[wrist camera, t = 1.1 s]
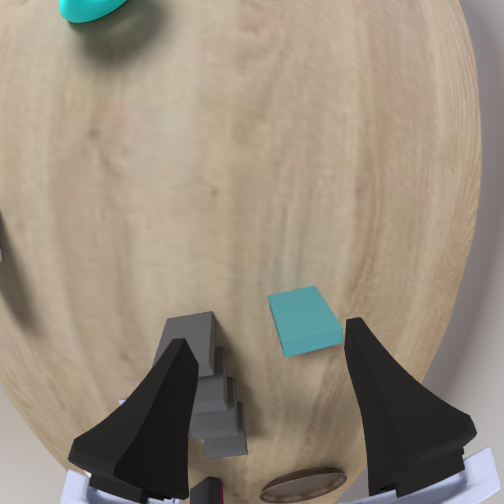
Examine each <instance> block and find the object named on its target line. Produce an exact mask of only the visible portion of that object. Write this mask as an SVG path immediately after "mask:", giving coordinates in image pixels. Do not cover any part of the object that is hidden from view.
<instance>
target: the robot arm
mask: <svg viewBox="0 0 504 504" xmlns="http://www.w3.org/2000/svg"><path fill="white" fill-rule="evenodd" d="M344 350H345V356H346V361H347V366H348V370H349V374H350V377H351V380H352V384H353V387H354V390H355V394H356V397H357V400H358V404H359V407H360V411H361V416H362V421H363V428H364V435H365V443H366V452H367V464H368V486H369V496H370V497H367V498H363V499H358V500H354V501H349V502H344V503H339V504H478V503H480V502H481V501H483V500H485V499H486V498H488V497H489V496H491V495H492V494H493V493H495V492H497V491H498V490H499V489H500V482H499V478H498V474H497V470H496V466H495V462H494V459H493V455H492V452H491V449H490V446H487V447H485V448H483V449H482V450H480V451H478V452H476V453H475V454H473V455H471V456H469V457H467V458H466V459H464V460H463V458H462V455H463V454H464V449H463V446H465V445H466V444H467V443H469V442H470V441H471V440H472V439H473V438H474V437H475V436H476V434H477V431H476V428H475V426H474V423H473V421H472V419H471V417H470V415H468V414H465V413H464V412H462V411H460V410H458V409H456V408H454V407H452V406H451V405H449V404H448V403H446V402H444V401H443V400H441V399H440V398H439V397H437V396H436V395H434V394H433V393H432V392H430V391H429V390H428V389H426V388H425V387H424V386H422V385H421V384H420V383H419V382H418V381H416V380H415V379H414V378H413V377H412V376H411V375H410V374H409V373H408V372H407V371H406V370H405V369H404V368H403V367H402V366H401V365H400V364H399V363H398V362H397V361H396V360H395V359H394V358H393V357H392V356H391V355H390V354H389V352H388V351H387V350H386V349H385V348H384V347H383V345H382V344H381V343H380V342H379V341H378V339H377V338H376V337H375V336H374V334H373V333H372V332H371V330H370V329H369V328H368V326H367V325H366V324H365V322H364V321H363V319H362V318H360V317H357V318H352V319H347V320H346V334H345V346H344ZM198 374H199V363H198V362H197V360H196V358H195V356H194V354H193V352H192V350H191V348H190V347H189V345H188V343H187V341H186V339H185V338H175V339H173V340H172V341H171V342H170V344H169V345H168V346H167V348H166V349H165V351H164V352H163V354H162V355H161V356H160V358H159V359H158V361H157V362H156V364H155V365H154V366H153V368H152V369H151V370H150V372H149V373H148V374H147V376H146V377H145V378H144V380H143V381H142V382H141V383H140V385H139V386H138V387H137V388H136V389H135V391H134V392H133V393H132V394H131V395H130V396H129V397H128V398H127V399H126V400H120V401H119V404H120V406H119V407H118V408H117V409H116V410H115V411H114V412H113V413H111V414H110V415H109V416H108V417H107V418H106V419H104V420H103V421H102V422H100V423H99V424H98V425H96V426H95V427H93V428H92V429H90V430H89V431H87V432H86V433H84V434H82V435H80V436H79V437H77V438H75V439H74V441H73V444H72V447H71V450H70V453H69V457H68V460H69V461H70V462H71V463H72V464H74V465H76V466H78V467H79V468H81V469H83V470H85V471H87V472H89V473H91V477H90V478H89V477H87V476H85V475H83V474H80V473H78V472H76V471H73V470H71V469H69V471H68V474H67V478H66V482H65V485H64V489H63V493H62V497H61V501H60V504H182V501H183V500H185V499H187V498H188V497H189V486H188V437H189V426H190V420H191V415H192V410H193V405H194V400H195V395H196V390H197V385H198Z"/></svg>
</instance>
